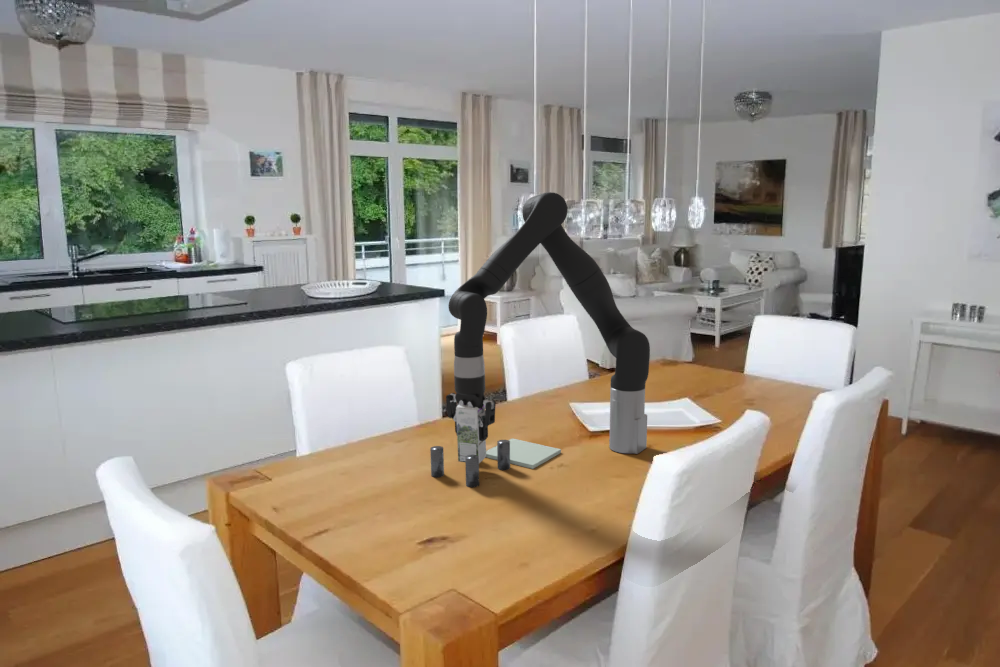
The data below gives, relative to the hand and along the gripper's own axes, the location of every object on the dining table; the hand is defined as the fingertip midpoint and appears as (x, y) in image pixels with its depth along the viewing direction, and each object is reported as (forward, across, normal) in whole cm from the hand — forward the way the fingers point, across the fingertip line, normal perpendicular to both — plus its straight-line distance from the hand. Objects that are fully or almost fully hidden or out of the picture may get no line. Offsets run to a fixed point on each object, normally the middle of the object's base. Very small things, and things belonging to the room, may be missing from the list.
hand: (471, 437), depth 175 cm
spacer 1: (+9, +6, +7) cm, 12 cm away
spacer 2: (+9, -5, +7) cm, 12 cm away
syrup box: (+6, 0, 0) cm, 6 cm away
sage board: (+9, -4, -17) cm, 19 cm away
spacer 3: (+9, -5, -6) cm, 12 cm away
